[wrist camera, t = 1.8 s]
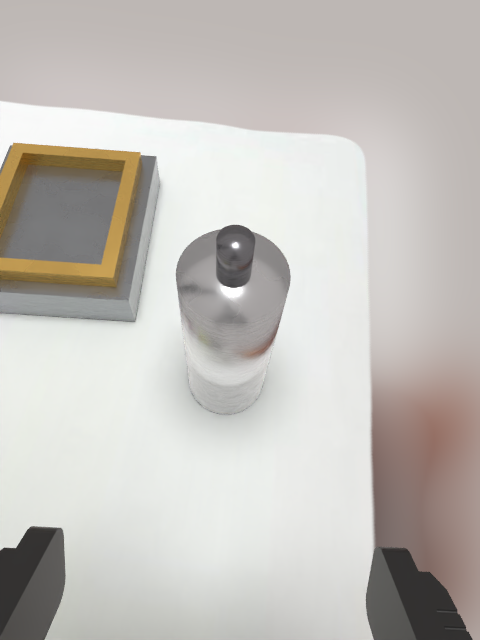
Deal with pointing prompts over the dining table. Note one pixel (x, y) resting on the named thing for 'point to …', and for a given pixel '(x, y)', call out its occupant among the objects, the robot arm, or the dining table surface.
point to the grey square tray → (75, 230)
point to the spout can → (230, 314)
